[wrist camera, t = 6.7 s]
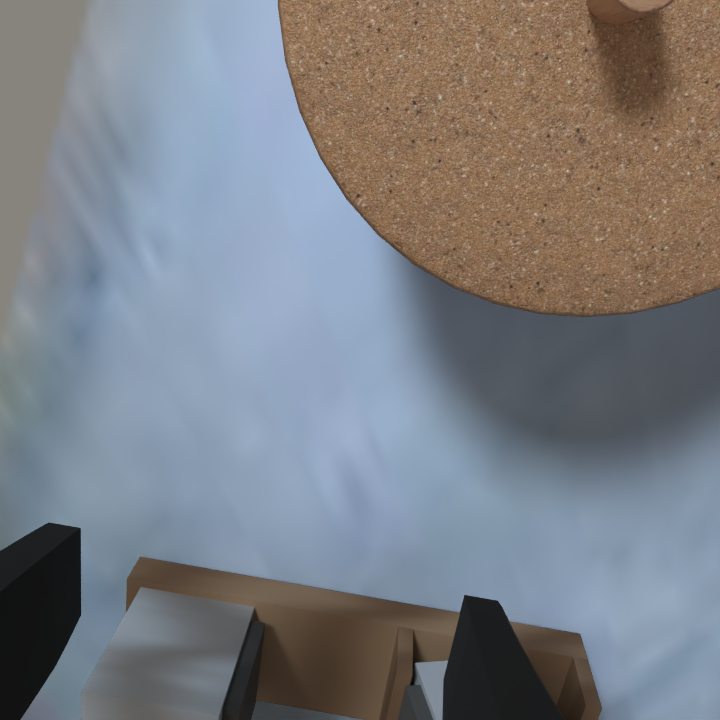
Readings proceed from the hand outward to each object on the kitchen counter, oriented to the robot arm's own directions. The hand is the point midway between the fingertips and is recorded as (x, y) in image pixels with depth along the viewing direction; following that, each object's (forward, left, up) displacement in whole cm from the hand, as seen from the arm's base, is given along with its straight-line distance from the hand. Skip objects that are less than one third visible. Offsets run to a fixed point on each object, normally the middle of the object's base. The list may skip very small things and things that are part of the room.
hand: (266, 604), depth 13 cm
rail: (-2, +10, -10) cm, 14 cm away
